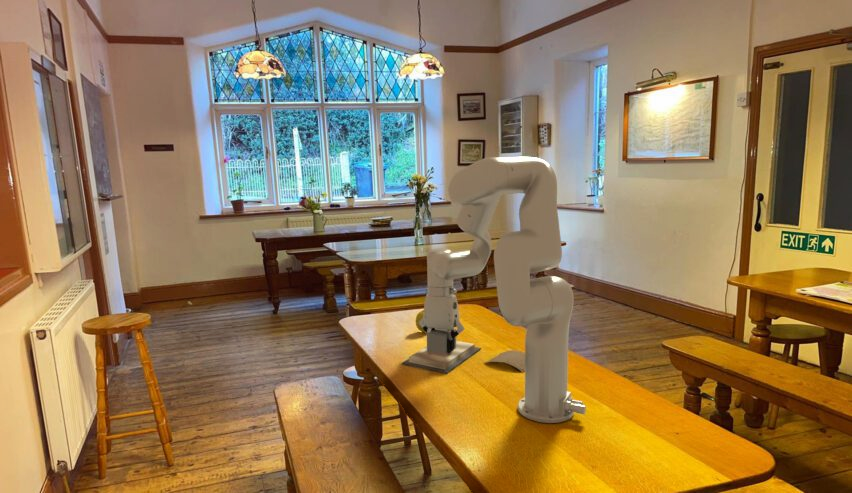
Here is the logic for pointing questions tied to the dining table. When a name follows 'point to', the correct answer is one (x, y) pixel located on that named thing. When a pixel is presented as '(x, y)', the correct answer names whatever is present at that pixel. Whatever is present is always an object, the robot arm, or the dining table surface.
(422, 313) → the lemon
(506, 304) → the robot arm
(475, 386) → the dining table surface
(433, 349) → the block
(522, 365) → the clay tablet
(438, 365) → the board
